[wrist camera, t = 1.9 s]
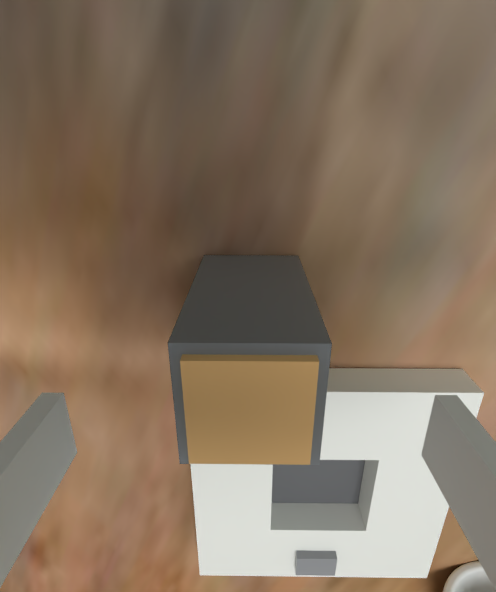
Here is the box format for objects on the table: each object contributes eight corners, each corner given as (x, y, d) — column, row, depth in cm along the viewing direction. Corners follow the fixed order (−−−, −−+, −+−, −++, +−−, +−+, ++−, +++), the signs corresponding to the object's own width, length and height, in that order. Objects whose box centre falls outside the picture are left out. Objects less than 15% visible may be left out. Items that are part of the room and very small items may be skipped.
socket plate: (190, 367, 25) (182, 397, 22) (462, 368, 24) (489, 399, 22) (203, 543, 32) (198, 583, 29) (414, 545, 32) (430, 586, 29)
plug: (203, 255, 22) (165, 349, 12) (298, 255, 22) (334, 350, 12) (208, 337, 24) (177, 471, 14) (293, 337, 24) (321, 473, 14)
